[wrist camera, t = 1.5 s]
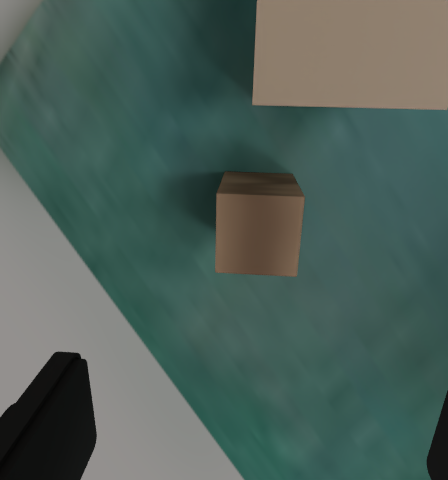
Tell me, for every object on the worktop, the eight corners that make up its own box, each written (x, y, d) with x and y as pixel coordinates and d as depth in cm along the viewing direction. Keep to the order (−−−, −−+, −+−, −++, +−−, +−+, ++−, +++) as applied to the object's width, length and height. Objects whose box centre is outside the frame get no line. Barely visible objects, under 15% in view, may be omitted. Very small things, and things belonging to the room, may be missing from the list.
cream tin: (418, -61, 22) (503, -144, 15) (389, 106, 25) (446, 109, 18) (260, -61, 23) (263, -140, 15) (252, 103, 26) (252, 105, 18)
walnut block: (292, 173, 27) (304, 197, 21) (286, 236, 29) (296, 276, 23) (225, 171, 28) (216, 193, 21) (223, 234, 29) (215, 272, 23)
